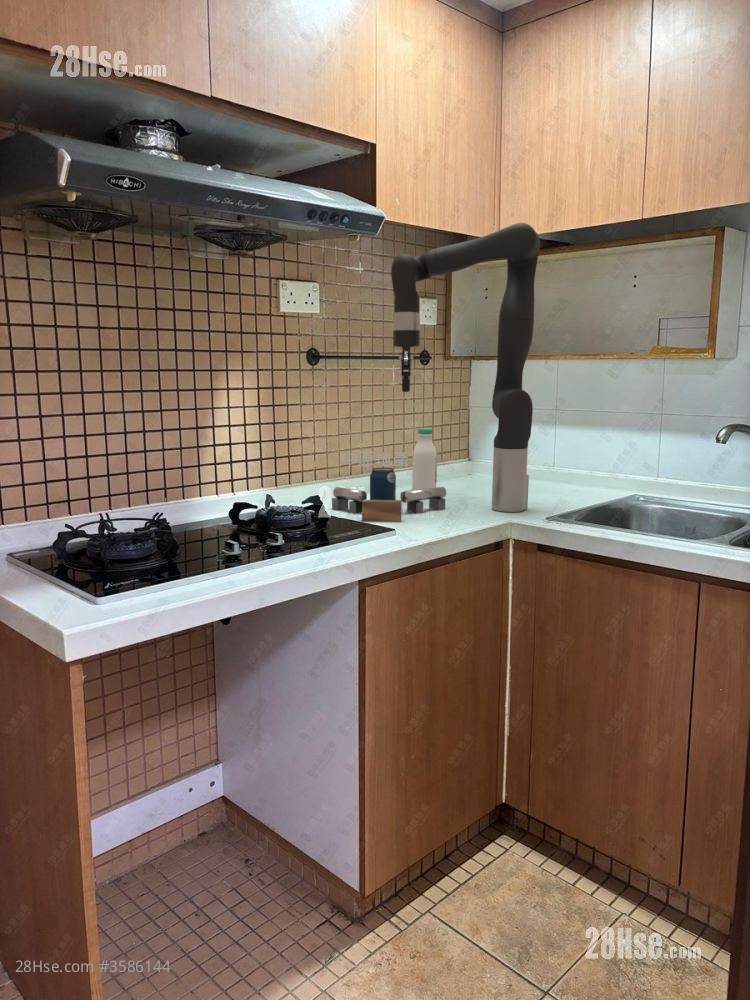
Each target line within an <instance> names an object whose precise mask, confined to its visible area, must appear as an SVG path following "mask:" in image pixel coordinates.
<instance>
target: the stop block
mask: <svg viewBox="0 0 750 1000" xmlns="http://www.w3.org/2000/svg"><path fill="white" fill-rule="evenodd" d="M402 503H403V502H402V500H401V499H399V500H398V499H396V500H370V499H366V500H363V501H362V513H361V522H395V523H396V522H399V523H400V522H402V512H403V511H402V507H403V506H402V505H403V504H402Z"/></svg>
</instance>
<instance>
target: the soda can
mask: <svg viewBox="0 0 750 1000" xmlns="http://www.w3.org/2000/svg"><path fill="white" fill-rule="evenodd" d="M394 469H395V468H392V467H374V468H372V471H371V473H370V474H369V500H397V499H396V496H397V495H396V491H397V490H396V488H397V480H396V479H397V475H396V473H395V471H394Z"/></svg>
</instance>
